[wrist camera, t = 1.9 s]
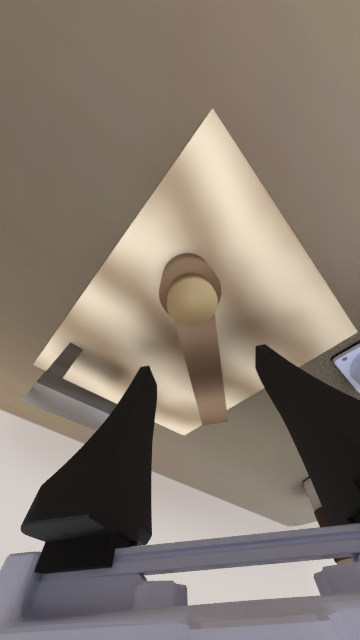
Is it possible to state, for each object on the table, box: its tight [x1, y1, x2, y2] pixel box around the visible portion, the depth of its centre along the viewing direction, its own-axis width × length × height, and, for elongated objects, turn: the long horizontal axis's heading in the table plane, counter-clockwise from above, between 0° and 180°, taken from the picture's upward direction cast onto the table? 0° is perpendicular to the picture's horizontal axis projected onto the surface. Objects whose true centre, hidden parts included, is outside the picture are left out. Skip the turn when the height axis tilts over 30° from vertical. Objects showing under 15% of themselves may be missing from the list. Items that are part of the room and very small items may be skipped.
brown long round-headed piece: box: [159, 253, 228, 425], centre depth 14 cm, size 15×4×3 cm, turn 12°
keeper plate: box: [22, 108, 357, 436], centre depth 15 cm, size 23×20×6 cm
